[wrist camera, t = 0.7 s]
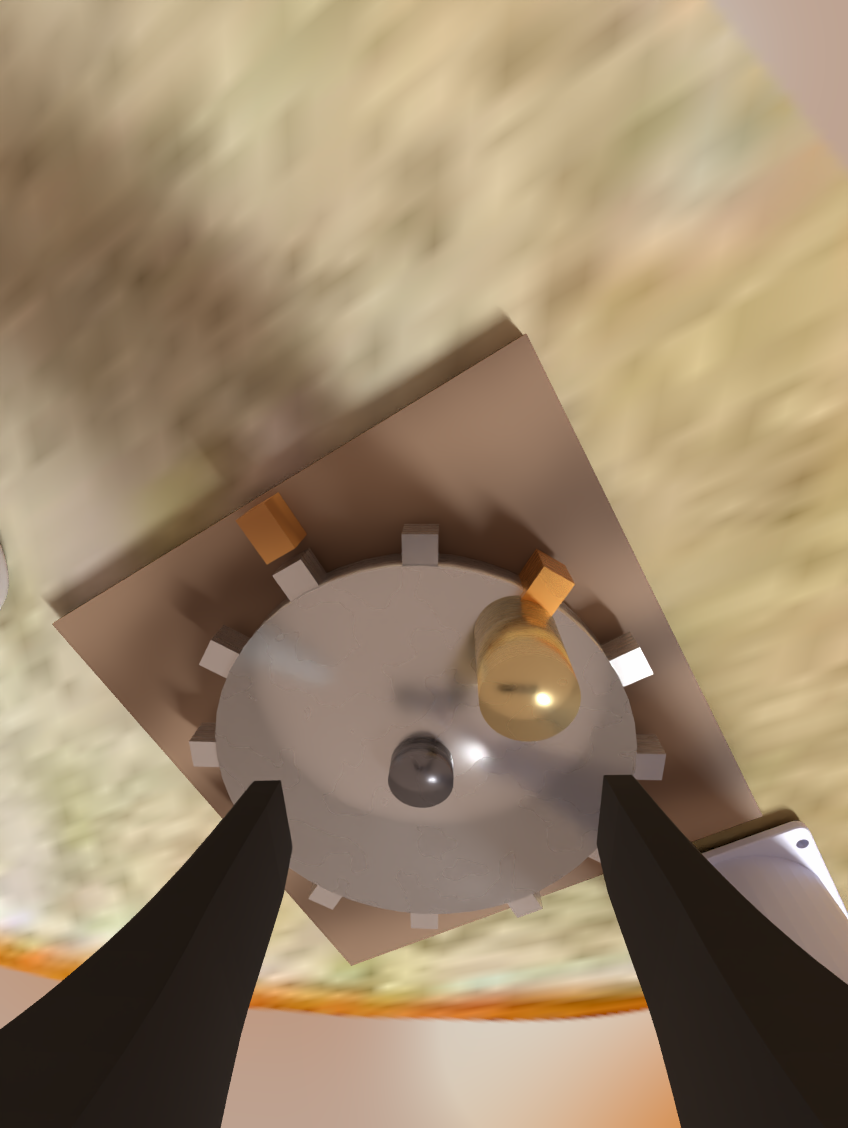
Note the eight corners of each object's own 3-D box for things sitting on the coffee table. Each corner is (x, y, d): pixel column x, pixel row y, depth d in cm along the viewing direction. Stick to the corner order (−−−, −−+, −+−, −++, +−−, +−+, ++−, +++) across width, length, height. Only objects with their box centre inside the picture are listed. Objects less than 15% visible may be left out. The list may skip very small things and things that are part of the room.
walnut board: (753, 801, 24) (783, 846, 22) (354, 950, 29) (345, 999, 27) (523, 334, 18) (532, 331, 16) (65, 615, 23) (22, 643, 21)
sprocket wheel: (495, 953, 27) (505, 1095, 22) (142, 793, 24) (58, 909, 19) (754, 673, 21) (853, 776, 16) (320, 425, 18) (269, 452, 13)
